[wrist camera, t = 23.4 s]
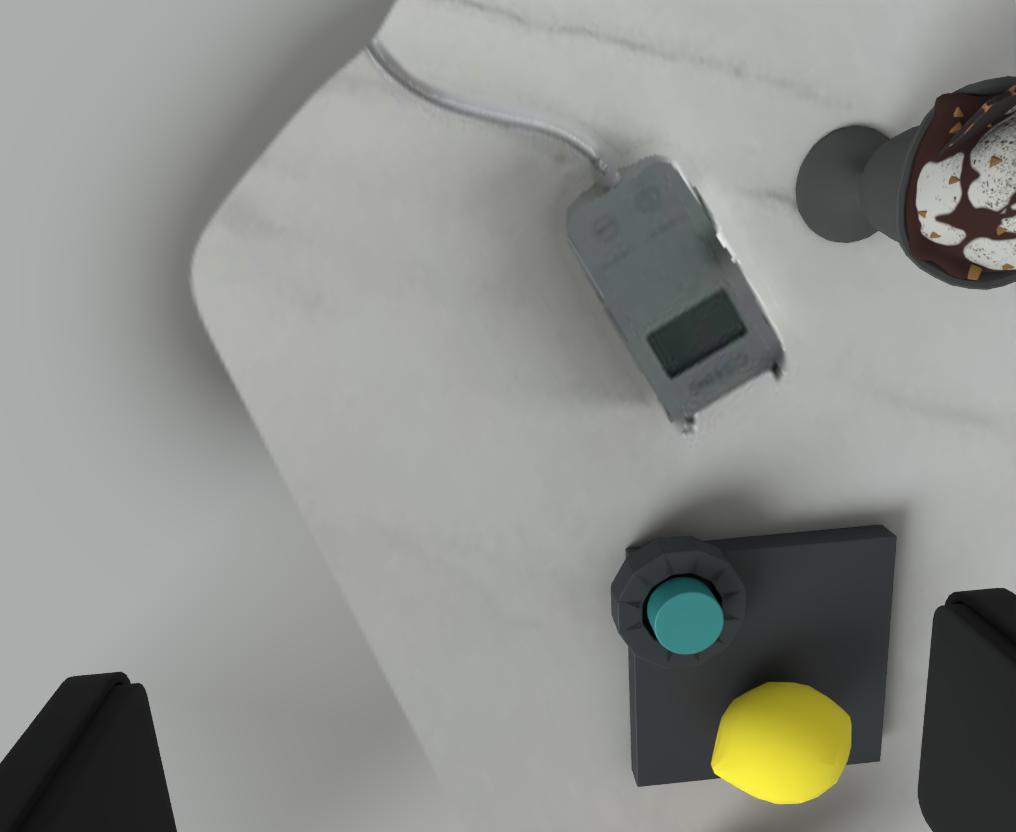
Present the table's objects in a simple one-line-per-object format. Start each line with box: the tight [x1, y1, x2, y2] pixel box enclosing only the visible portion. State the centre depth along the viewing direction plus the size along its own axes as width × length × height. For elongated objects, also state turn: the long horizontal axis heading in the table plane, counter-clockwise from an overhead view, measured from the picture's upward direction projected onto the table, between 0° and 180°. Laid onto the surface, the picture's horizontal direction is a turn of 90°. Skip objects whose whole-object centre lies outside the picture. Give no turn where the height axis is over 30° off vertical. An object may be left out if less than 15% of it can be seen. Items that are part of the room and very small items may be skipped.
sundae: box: [796, 76, 1016, 290], centre depth 29 cm, size 7×7×15 cm
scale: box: [611, 525, 897, 787], centre depth 41 cm, size 14×14×3 cm
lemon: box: [711, 682, 852, 804], centre depth 39 cm, size 7×5×5 cm
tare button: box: [647, 577, 724, 654], centre depth 38 cm, size 3×3×2 cm
